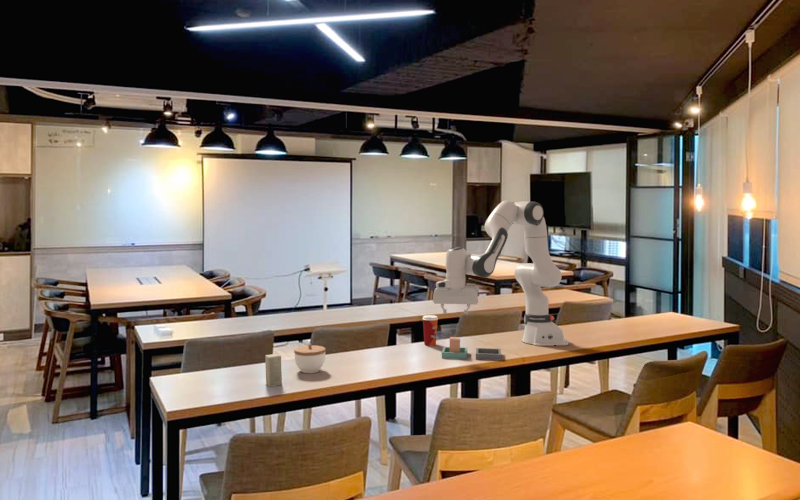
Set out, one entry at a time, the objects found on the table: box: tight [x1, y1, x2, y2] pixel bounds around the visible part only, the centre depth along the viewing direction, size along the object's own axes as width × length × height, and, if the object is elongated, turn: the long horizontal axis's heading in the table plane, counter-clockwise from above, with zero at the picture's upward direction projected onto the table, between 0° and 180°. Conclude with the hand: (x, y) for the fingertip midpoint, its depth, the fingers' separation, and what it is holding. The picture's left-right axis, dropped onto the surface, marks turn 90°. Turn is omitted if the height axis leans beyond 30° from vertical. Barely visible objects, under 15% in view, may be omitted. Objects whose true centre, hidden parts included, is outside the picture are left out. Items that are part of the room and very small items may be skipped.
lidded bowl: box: [293, 343, 327, 374], centre depth 235 cm, size 13×13×11 cm
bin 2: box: [475, 347, 502, 361], centre depth 258 cm, size 11×11×2 cm
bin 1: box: [441, 346, 468, 360], centre depth 261 cm, size 11×11×2 cm
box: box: [264, 353, 283, 387], centre depth 216 cm, size 5×4×11 cm
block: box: [449, 336, 461, 353], centre depth 260 cm, size 4×5×8 cm
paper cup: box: [422, 314, 439, 347], centre depth 282 cm, size 8×8×14 cm
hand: (455, 313), depth 260 cm, fingers open, 8 cm apart
